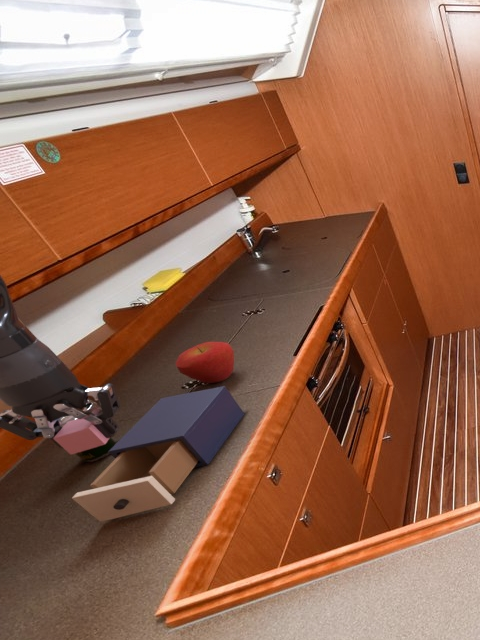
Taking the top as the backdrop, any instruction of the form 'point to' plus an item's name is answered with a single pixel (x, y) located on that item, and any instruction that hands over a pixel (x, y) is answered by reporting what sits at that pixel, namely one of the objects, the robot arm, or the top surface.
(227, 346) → the apple
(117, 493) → the drawer
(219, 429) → the cabinet
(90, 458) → the beer can
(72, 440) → the block
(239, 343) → the top surface
